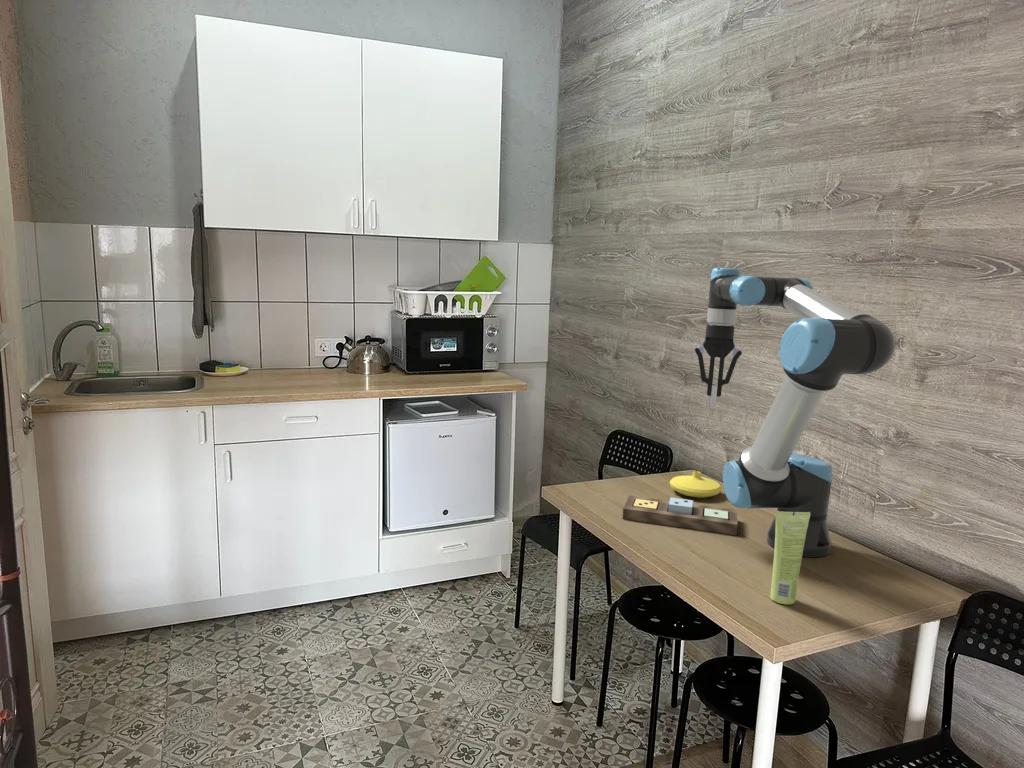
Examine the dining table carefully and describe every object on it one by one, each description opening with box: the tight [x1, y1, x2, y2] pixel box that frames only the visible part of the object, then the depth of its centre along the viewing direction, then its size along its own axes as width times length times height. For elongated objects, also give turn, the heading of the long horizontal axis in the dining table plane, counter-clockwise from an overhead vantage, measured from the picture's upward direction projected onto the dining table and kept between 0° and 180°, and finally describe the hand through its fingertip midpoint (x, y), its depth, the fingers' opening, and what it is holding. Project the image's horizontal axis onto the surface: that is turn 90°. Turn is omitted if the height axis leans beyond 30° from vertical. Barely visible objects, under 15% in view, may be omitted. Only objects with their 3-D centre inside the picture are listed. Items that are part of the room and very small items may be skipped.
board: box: [622, 495, 739, 536], centre depth 190 cm, size 30×12×3 cm, turn 73°
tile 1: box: [704, 508, 728, 520], centre depth 188 cm, size 6×6×3 cm
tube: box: [769, 510, 810, 606], centre depth 144 cm, size 6×5×20 cm
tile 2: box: [668, 497, 694, 515], centre depth 190 cm, size 6×6×3 cm
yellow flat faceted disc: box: [669, 470, 722, 499], centre depth 214 cm, size 16×16×7 cm
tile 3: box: [633, 499, 658, 510], centre depth 193 cm, size 6×6×3 cm
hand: (712, 407), depth 194 cm, fingers closed
